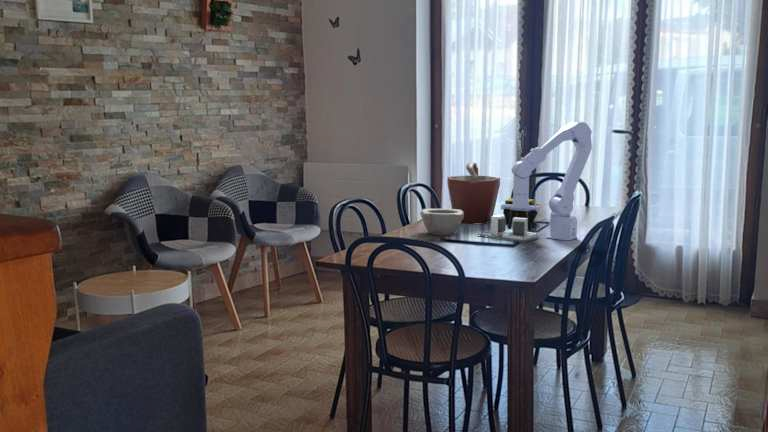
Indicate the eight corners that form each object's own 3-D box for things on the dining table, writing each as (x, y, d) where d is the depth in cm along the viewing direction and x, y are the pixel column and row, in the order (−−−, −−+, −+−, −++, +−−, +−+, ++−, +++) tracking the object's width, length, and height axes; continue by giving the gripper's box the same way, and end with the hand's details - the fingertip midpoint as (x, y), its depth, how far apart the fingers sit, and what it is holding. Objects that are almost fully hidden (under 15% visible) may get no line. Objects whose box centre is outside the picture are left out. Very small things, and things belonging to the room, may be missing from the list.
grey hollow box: (538, 238, 269) (539, 217, 268) (524, 242, 261) (525, 221, 260) (492, 232, 282) (492, 212, 280) (477, 236, 273) (478, 216, 272)
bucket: (486, 227, 292) (488, 166, 288) (436, 223, 302) (437, 164, 298) (503, 218, 314) (505, 161, 310) (456, 214, 324) (457, 159, 320)
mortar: (463, 230, 286) (464, 207, 285) (463, 238, 270) (463, 214, 268) (421, 229, 288) (422, 207, 287) (419, 237, 272) (419, 213, 270)
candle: (503, 223, 300) (504, 200, 299) (510, 220, 309) (511, 197, 308) (527, 225, 296) (527, 202, 294) (533, 222, 305) (534, 199, 303)
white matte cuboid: (514, 235, 270) (514, 217, 269) (527, 236, 268) (527, 218, 267) (511, 237, 267) (512, 218, 266) (524, 238, 265) (525, 219, 264)
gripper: (542, 193, 266) (541, 229, 268) (504, 191, 272) (503, 226, 274) (538, 195, 260) (537, 232, 262) (499, 193, 265) (498, 229, 268)
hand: (519, 229), depth 268 cm, fingers open, 7 cm apart
